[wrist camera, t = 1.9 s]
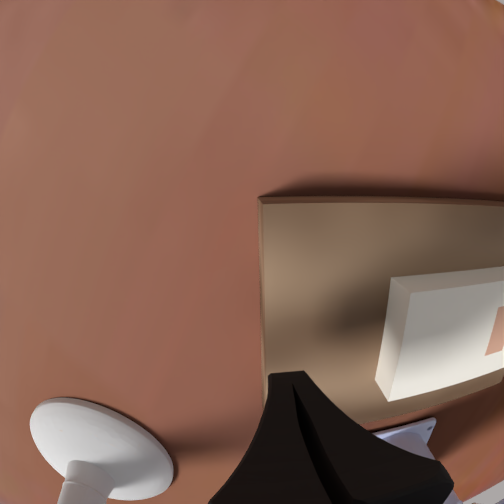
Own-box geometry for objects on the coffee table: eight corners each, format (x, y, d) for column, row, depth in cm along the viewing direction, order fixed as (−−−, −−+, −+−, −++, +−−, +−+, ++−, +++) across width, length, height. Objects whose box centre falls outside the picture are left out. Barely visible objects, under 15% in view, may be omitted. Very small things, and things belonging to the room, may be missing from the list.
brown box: (480, 363, 20) (500, 382, 17) (262, 403, 19) (266, 436, 17) (513, 202, 17) (542, 209, 14) (257, 197, 16) (262, 204, 13)
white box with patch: (510, 265, 15) (532, 276, 13) (489, 351, 16) (506, 366, 14) (390, 277, 14) (410, 293, 12) (374, 379, 16) (388, 401, 14)
